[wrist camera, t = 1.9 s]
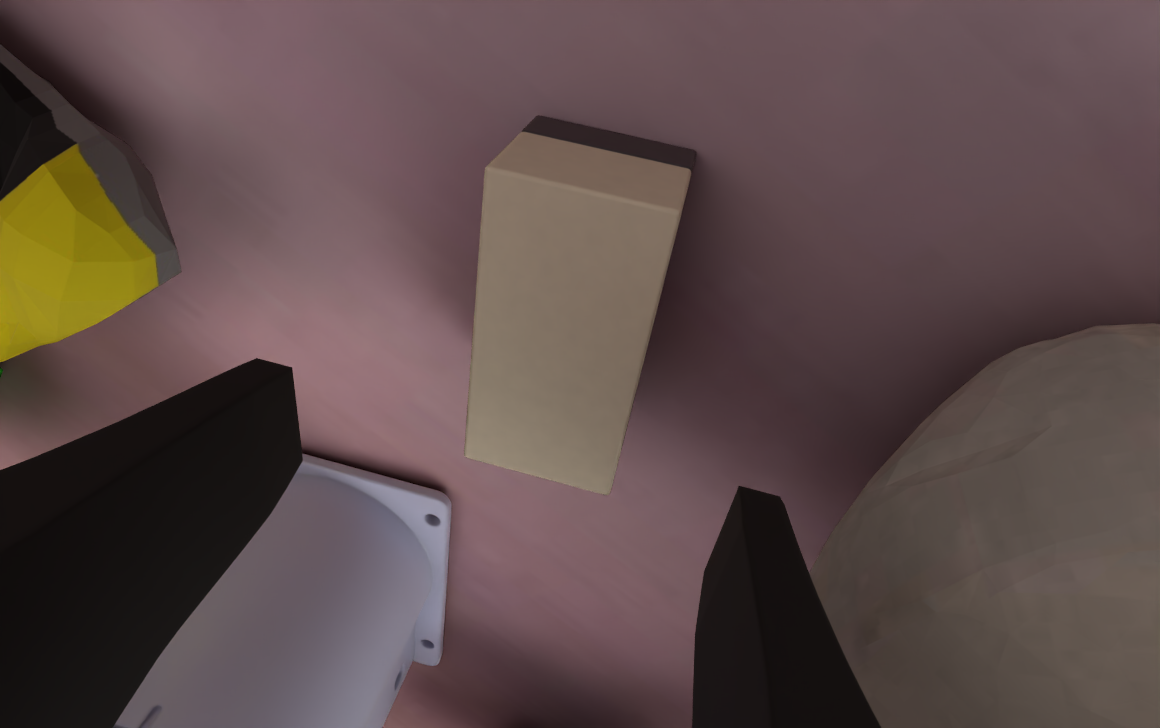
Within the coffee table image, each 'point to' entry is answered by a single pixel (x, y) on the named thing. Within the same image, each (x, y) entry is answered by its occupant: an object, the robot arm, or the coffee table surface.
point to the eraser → (568, 296)
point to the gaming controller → (69, 218)
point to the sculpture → (1013, 548)
